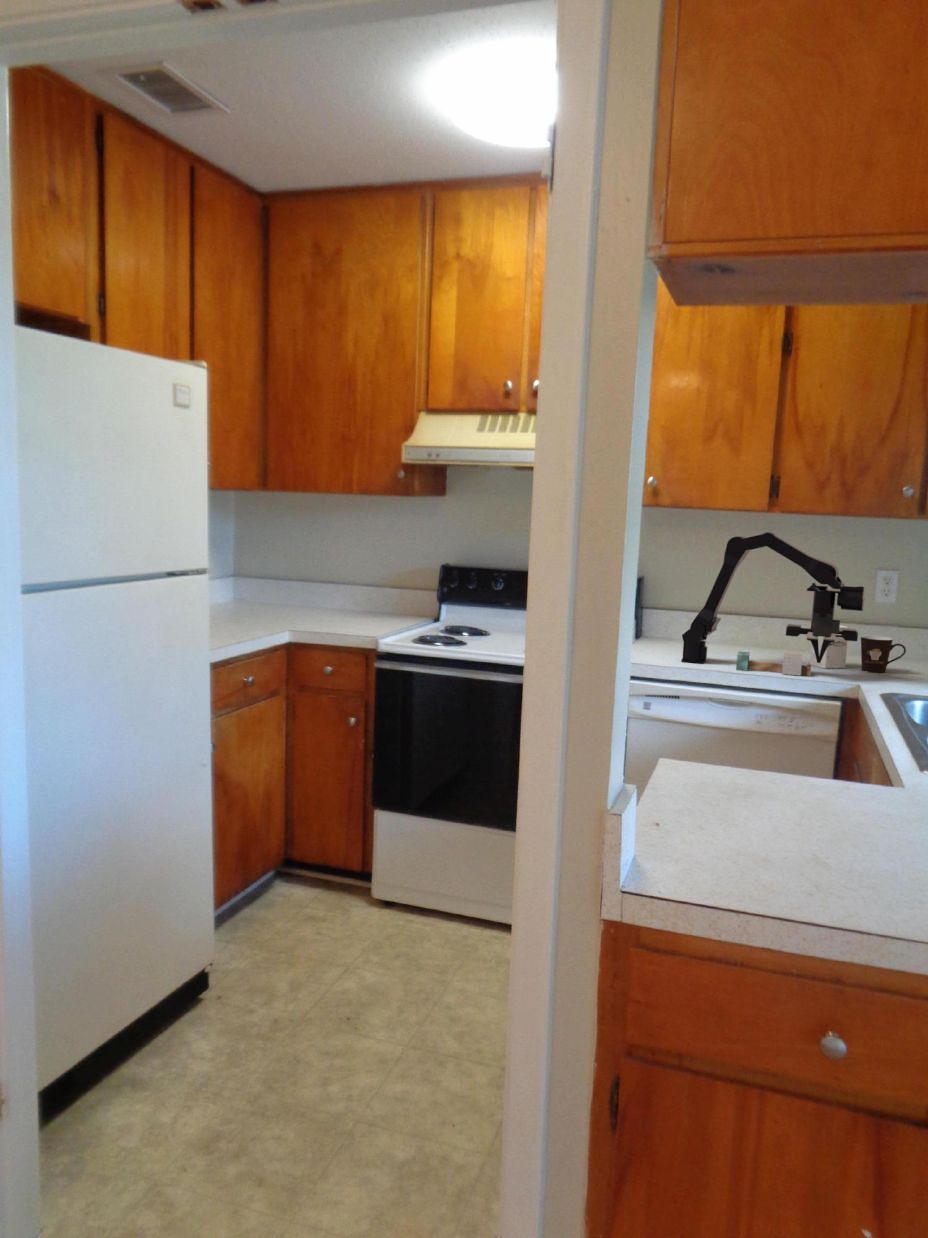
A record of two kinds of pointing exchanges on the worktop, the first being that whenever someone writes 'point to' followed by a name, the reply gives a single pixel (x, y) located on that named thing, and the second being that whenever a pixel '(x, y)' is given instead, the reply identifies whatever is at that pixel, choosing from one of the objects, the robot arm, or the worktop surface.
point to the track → (764, 665)
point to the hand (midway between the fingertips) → (818, 662)
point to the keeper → (792, 664)
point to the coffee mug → (876, 653)
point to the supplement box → (831, 653)
